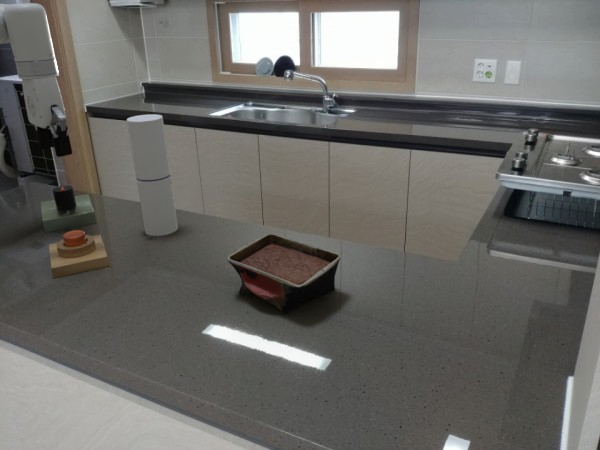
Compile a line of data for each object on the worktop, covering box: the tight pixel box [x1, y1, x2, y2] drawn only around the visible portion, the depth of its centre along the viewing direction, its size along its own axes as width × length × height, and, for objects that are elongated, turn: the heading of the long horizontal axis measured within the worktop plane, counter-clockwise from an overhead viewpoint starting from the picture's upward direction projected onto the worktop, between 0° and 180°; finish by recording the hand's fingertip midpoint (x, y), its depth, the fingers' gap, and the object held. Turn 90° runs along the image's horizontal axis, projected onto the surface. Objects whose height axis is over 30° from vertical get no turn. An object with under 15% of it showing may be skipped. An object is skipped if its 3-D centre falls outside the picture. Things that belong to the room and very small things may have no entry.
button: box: [62, 229, 86, 247], centre depth 105 cm, size 4×4×2 cm
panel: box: [40, 193, 97, 234], centre depth 128 cm, size 14×11×3 cm
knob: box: [52, 185, 76, 210], centre depth 126 cm, size 4×4×5 cm
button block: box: [48, 233, 110, 279], centre depth 106 cm, size 12×10×4 cm
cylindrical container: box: [126, 113, 179, 237], centre depth 115 cm, size 7×7×25 cm
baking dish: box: [226, 233, 342, 315], centre depth 91 cm, size 14×18×10 cm
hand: (56, 151), depth 115 cm, fingers open, 9 cm apart
